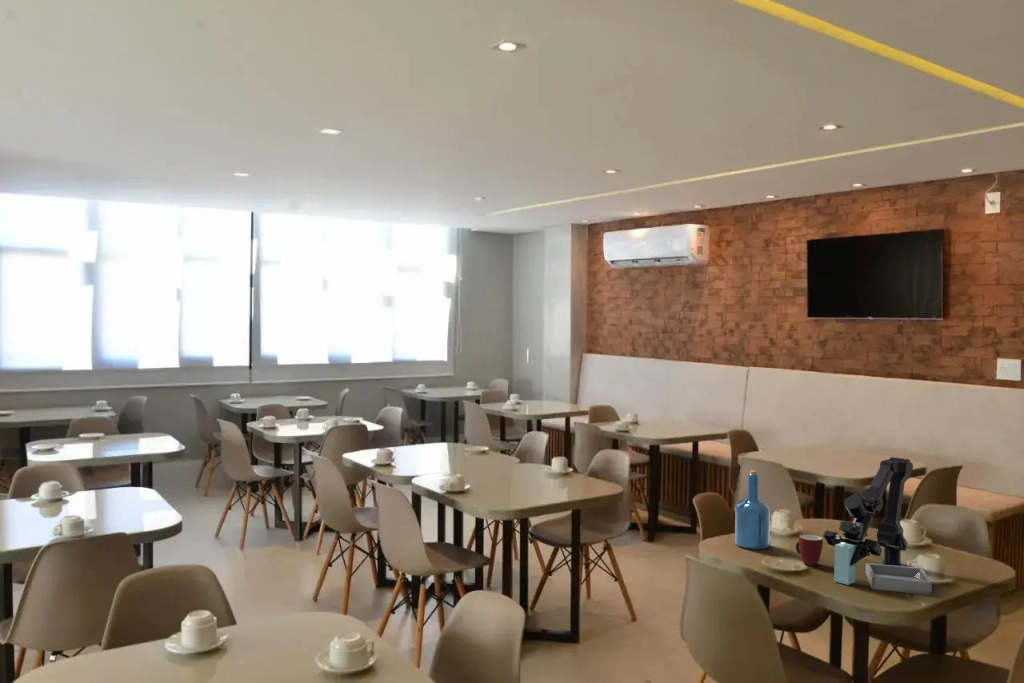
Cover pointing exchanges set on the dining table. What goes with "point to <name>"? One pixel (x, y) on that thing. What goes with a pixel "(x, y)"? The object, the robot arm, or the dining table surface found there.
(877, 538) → the robot arm
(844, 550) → the carton
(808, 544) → the mug
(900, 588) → the gray square tray
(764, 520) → the wine bottle
